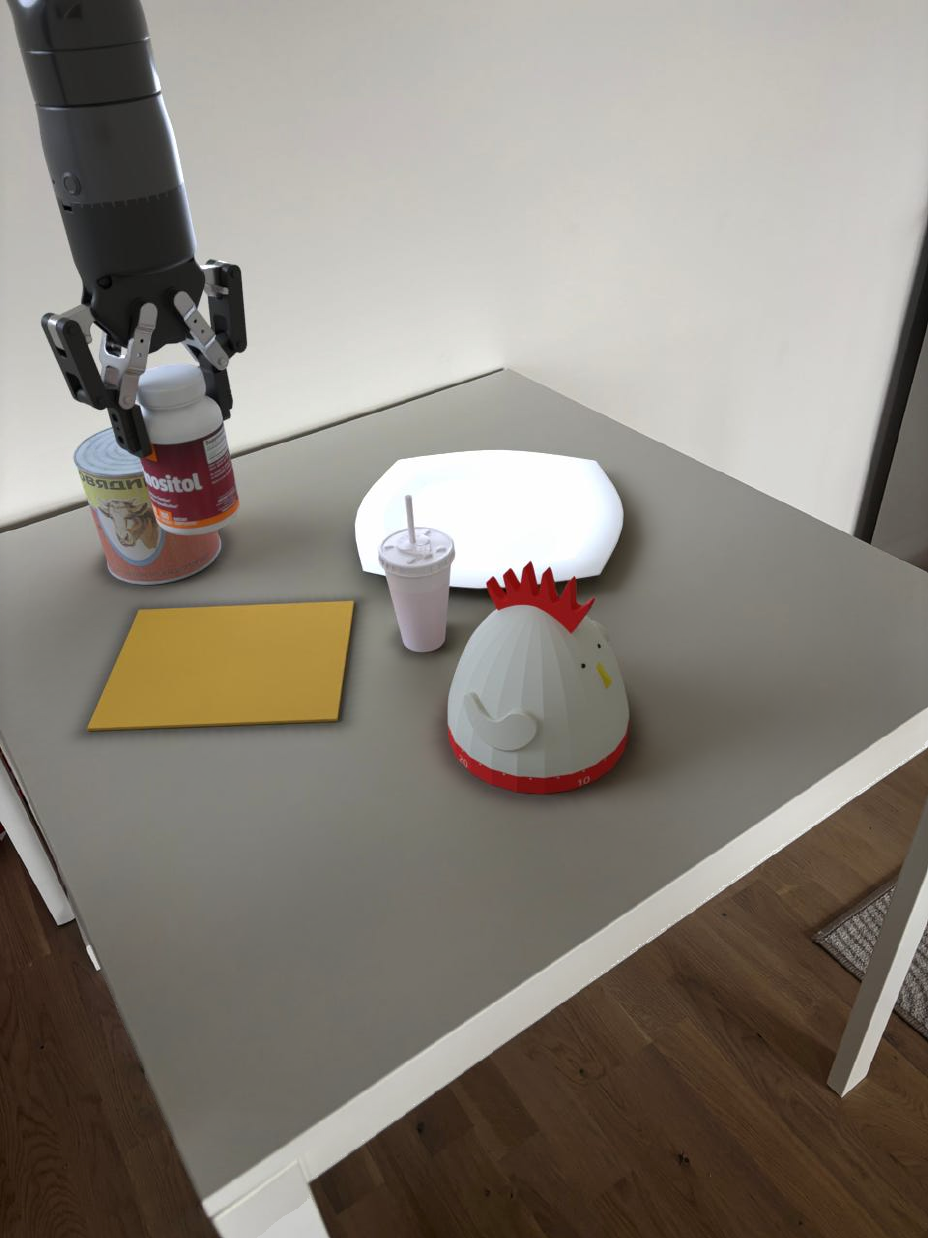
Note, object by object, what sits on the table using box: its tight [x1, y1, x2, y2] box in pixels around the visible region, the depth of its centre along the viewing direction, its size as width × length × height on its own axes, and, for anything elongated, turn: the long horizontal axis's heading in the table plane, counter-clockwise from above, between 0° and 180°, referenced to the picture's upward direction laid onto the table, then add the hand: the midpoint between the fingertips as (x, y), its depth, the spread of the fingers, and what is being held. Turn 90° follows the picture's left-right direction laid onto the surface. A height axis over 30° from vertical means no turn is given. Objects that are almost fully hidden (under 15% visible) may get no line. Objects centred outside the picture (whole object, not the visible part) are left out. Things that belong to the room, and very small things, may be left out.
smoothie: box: [378, 495, 456, 653], centre depth 81 cm, size 6×6×14 cm
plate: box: [354, 449, 625, 591], centre depth 99 cm, size 27×27×2 cm
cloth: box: [86, 600, 355, 732], centre depth 83 cm, size 20×16×1 cm
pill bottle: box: [136, 363, 241, 535], centre depth 69 cm, size 6×6×11 cm
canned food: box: [72, 426, 222, 586], centre depth 95 cm, size 11×11×12 cm
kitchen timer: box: [447, 561, 630, 795], centre depth 71 cm, size 14×14×15 cm
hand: (179, 434), depth 68 cm, fingers closed on pill bottle, 6 cm apart
